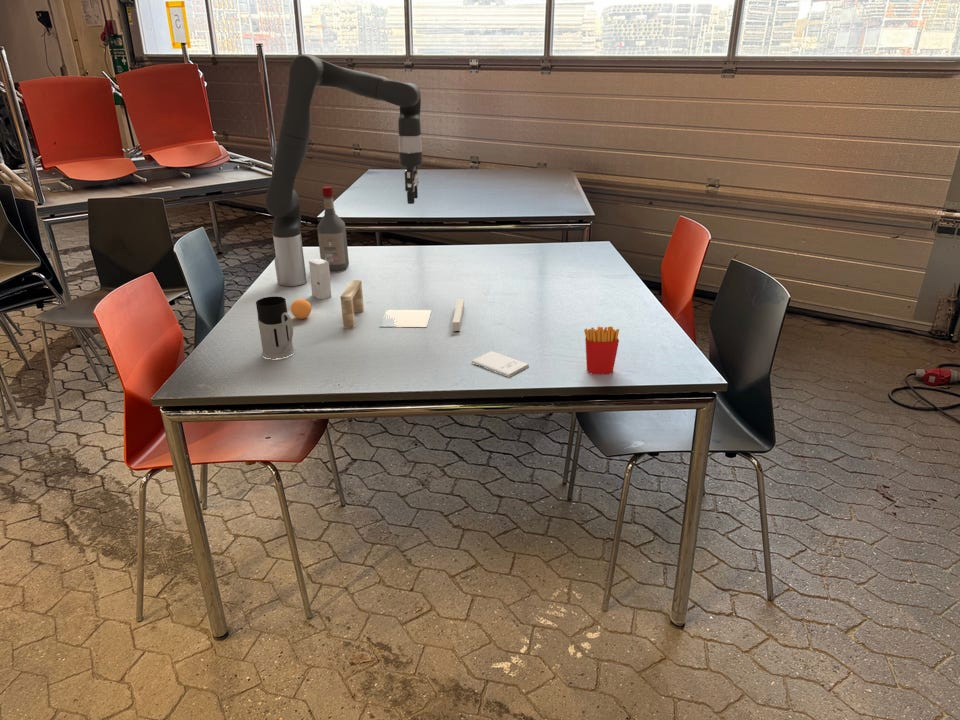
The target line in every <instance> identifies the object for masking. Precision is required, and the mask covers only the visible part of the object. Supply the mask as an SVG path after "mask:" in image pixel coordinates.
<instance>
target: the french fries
mask: <svg viewBox="0 0 960 720" xmlns="http://www.w3.org/2000/svg"><path fill="white" fill-rule="evenodd" d="M619 332H620V329H619V328H616V329H614V326H608V327H603V326H597V329H596V328H594V327H590V328H585V329H584V335H585V337H584V338H585V340H584V341H585V359H586V371H588V372H589V373H588V372H587V373H588V374H590V373H592V374H591V375H610V373H611V374H612V372H614V369H615V364H616V357H617V353H618V349H619V348H618V347H619V343H620V340H619V338H618V337H619Z"/></svg>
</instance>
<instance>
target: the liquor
mask: <svg viewBox="0 0 960 720" xmlns="http://www.w3.org/2000/svg"><path fill="white" fill-rule="evenodd" d="M321 189H322V190H321V191H322V197H323V203H324V204H323V206H324V212H323V213H324V215H323V216H322V218H321V220H320V221H319V222H318V224H317V226H316V231H317V238H318V239H317V240H318V248H319V258H320V259H323V260H325V261H327V262H329V270H330V273H340V271H341V272H344V270H345V271H346V270H348V267H349V264H350V261H349V251H348V240H347V239H348V238H347V227H346V223H345V221H344V220H343V219H342V218H340V217H339V216H338V214H336V211H335V205H334V203H335V202H334V190H333V186H330V185H329V186H328V185H327V186H326V185H325V186H322V188H321Z"/></svg>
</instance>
